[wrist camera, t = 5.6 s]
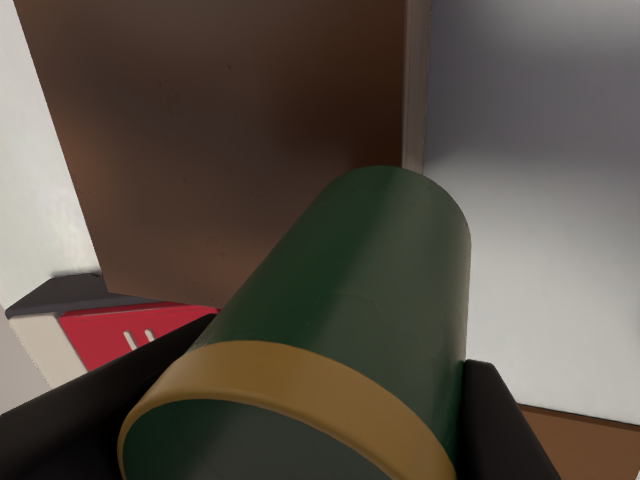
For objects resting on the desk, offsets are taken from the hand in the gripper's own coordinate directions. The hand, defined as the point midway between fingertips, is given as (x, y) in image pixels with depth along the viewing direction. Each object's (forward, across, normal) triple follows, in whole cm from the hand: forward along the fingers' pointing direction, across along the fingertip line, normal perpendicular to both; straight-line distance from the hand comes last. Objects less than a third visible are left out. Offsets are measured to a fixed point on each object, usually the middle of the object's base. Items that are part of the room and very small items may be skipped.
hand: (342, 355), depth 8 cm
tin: (+4, 0, 0) cm, 4 cm away
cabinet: (+13, +6, -3) cm, 14 cm away
